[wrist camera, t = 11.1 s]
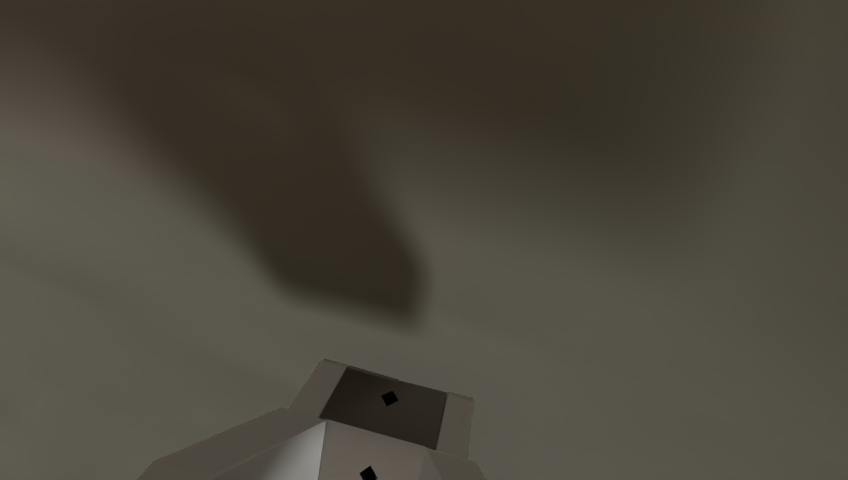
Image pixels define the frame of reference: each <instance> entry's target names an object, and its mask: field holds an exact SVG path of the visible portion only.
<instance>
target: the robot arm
mask: <svg viewBox="0 0 848 480" xmlns="http://www.w3.org/2000/svg"><path fill="white" fill-rule="evenodd" d="M473 409H474V399H473V398H472V397H467V396H463V395H459V394H454V393H450V392H448V394H447V392H443V391H439V390H435V389H431V388H427V387H423V386H419V385H416V384H412V383H408V382H404V381H400V380H398V379H395V378H391V377H388V376H384V375H381V374H378V373H374V372H371V371H367V370H364V369H360V368H357V367H353V366H348V365H346V364H342V363H339V362H335V361H331V360H328V359H324V360H323V361H321V362H320V363H319V364H318V366H317V367H316V369H315V370H314V372H313V373H312V375H311V376H310V378H309V379H308V381H307V382H306V384H305V385H304V387H303V388H302V390H301V391H300V393H299V394H298V396H297V397H296V399H295V400H294V402H293V403H292V405H291V406H290V408H289V409H285V408H279V409H277V410H274V411H272V412H269V413H267V414H265V415H262V416H260V417H258V418H255V419H253V420H250V421H248V422H246V423H243V424H241V425H239V426H236V427H234V428H232V429H229V430H227V431H224V432H222V433H220V434H217V435H215V436H213V437H210V438H208V439H205V440H203V441H201V442H198V443H196V444H194V445H191V446H189V447H187V448H184V449H182V450H179V451H177V452H175V453H172V454H170V455H168V456H165V457H163V458H160V459H158V460H156V461H154V462H153V463H152V464H151V465H150V466H149V467H148V468H147V469H146V470H145V471H144V472H143V474H142V475H141V476H140V477H139V478H138V479H137V480H486V479H485V477H484V475H483V474H482V472H481V470H480V469H479V467H478V466H477V464H476V462H474V461H471V460H468V459H467V458H468V449H469V441H470V433H471V425H472V417H473Z"/></svg>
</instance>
